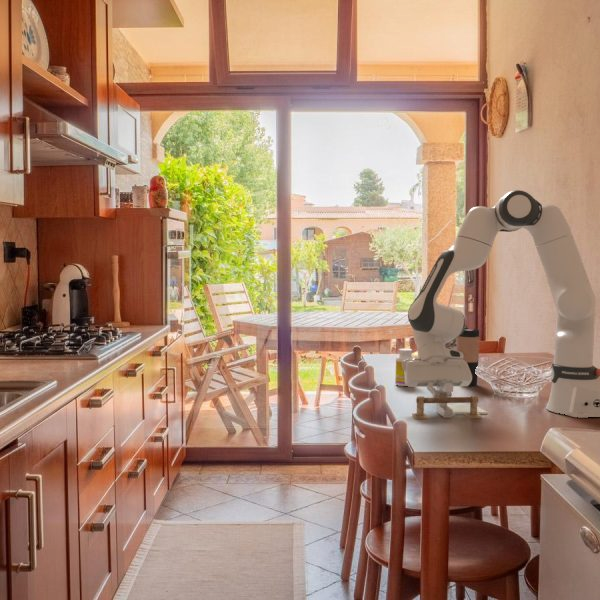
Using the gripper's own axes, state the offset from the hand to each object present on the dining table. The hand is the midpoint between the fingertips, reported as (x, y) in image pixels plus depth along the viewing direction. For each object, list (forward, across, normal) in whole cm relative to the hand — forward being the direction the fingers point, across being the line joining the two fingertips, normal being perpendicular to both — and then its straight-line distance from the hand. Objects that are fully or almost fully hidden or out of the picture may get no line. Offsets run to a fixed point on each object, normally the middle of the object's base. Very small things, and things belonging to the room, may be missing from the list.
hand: (442, 396), depth 215 cm
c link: (+5, 0, +2) cm, 5 cm away
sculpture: (-35, +10, +42) cm, 56 cm away
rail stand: (+7, 0, 0) cm, 7 cm away
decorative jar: (-69, +37, +76) cm, 109 cm away
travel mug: (-27, +23, +34) cm, 49 cm away
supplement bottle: (-27, 0, +34) cm, 43 cm away
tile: (+1, +8, +6) cm, 10 cm away
